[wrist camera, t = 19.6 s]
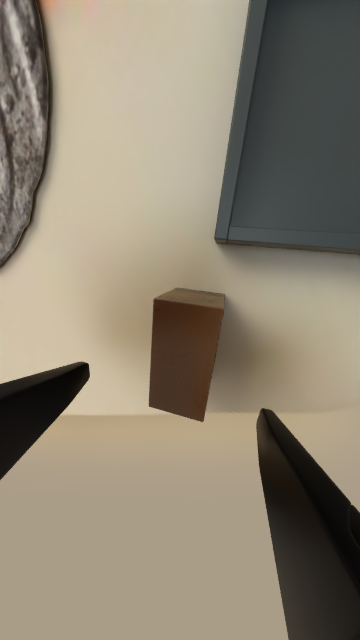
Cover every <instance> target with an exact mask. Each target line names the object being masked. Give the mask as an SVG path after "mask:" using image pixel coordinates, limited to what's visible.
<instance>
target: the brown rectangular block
mask: <svg viewBox="0 0 360 640" xmlns="http://www.w3.org/2000/svg"><path fill="white" fill-rule="evenodd" d="M224 299H225V294H219V293H212V292H204V291H197V290H190V289H182V288H175V289H173V290H171V291H169V292H167V293H165V294H162V295H160V296H158V297H156V298H154V304H153V326H152V347H151V369H150V391H149V407H152V408H156V409H159V410H163V411H166V412H170V413H173V414H177V415H180V416H184V417H187V418H191V419H194V420H197V421H201V422H203V421H204V415H205V410H206V405H207V399H208V394H209V389H210V383H211V378H212V372H213V367H214V361H215V356H216V350H217V345H218V340H219V334H220V329H221V323H222V318H223V312H224Z"/></svg>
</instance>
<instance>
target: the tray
mask: <svg viewBox="0 0 360 640" xmlns="http://www.w3.org/2000/svg"><path fill="white" fill-rule="evenodd" d="M214 238H215V241H216V243H224V244H236V245H249V246H262V247H274V248H287V249H299V250H312V251H324V252H337V253H349V254H360V0H250V2H249V8H248V15H247V22H246V28H245V35H244V42H243V49H242V55H241V62H240V69H239V76H238V82H237V89H236V96H235V103H234V109H233V116H232V123H231V130H230V136H229V143H228V150H227V157H226V163H225V170H224V177H223V184H222V190H221V197H220V204H219V210H218V217H217V224H216V231H215V237H214Z"/></svg>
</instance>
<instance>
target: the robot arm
mask: <svg viewBox="0 0 360 640" xmlns="http://www.w3.org/2000/svg"><path fill="white" fill-rule="evenodd" d="M89 377H90V372H89V364H88V363H85V362H77V363H74V364H70V365H66V366H63V367H59V368H56V369H52V370H49V371H45V372H41V373H38V374H34V375H31V376H27V377H24V378H20V379H16V380H13V381H9V382H6V383H2V384H0V480H1V479H2V478H3V477H4V475H5V474H6V473H7V472H8V471H9V470H10V469H11V468H12V467H13V466H14V464H15V463H16V462H17V461H18V460H19V459H20V458H21V457H22V456H23V455H24V454H25V453H26V451H27V450H28V449H29V448H30V447H31V446H32V445H33V444H34V443H35V442H36V441H37V439H38V438H39V437H40V436H41V435H42V434H43V433H44V432H45V431H46V430H47V428H48V427H49V426H50V425H51V424H52V423H53V422H54V421H55V420H56V419H57V417H58V416H59V415H60V414H61V413H62V412H63V411H64V410H65V409H66V408H67V407H68V405H69V404H70V403H71V402H72V401H73V399H74V398H75V397H76V395H77V394H78V393H79V391H80V390H81V389H82V388H83V386H84V385H85V384H86V382H87V381H88V380H89ZM257 441H258V455H259V456H258V457H259V467H260V474H261V480H262V485H263V492H264V497H265V503H266V509H267V515H268V521H269V527H270V533H271V538H272V544H273V550H274V556H275V562H276V567H277V574H278V579H279V585H280V590H281V597H282V603H283V608H284V614H285V621H286V626H287V632H288V638H289V640H360V512H359V511H358V510H357V509H356V508H355V507H354V506H353V505H351V502H350V501H349V500H348V499H347V497H346V496H345V495H344V494H343V493H342V492H341V490H340V489H339V488H338V487H337V486H336V485H335V483H334V482H333V481H332V480H331V479H330V478H329V477H328V475H327V474H326V473H325V472H324V471H323V469H322V468H321V467H320V466H319V465H318V464H317V462H316V461H315V460H314V459H313V458H312V457H311V455H310V454H309V453H308V452H307V451H306V450H305V448H304V447H303V446H302V445H301V444H300V442H299V441H298V440H297V439H296V438H295V437H294V435H293V434H292V433H291V432H290V431H289V430H288V428H287V427H286V426H285V425H284V424H283V423H282V422H281V420H280V419H279V418H278V417H277V416H276V414H275V413H274V412H273V411H272V410H269V409H265V408H262V409H261V411H260V414H259V417H258V420H257Z"/></svg>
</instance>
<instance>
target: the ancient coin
mask: <svg viewBox="0 0 360 640" xmlns="http://www.w3.org/2000/svg"><path fill="white" fill-rule="evenodd" d="M48 109H49V79H48V71H47V64H46V56H45V48H44V40H43V32H42V25H41V20H40V15H39V11H38V6H37V2H36V0H0V266H1V265H2V264H3V263H4V261H5V260H6V259H7V258H8V256H9V255H10V254H11V253H12V252H13V251H14V249H15V248H16V246H17V244H18V242H19V240H20V237H21V235H22V233H23V230H24V228H25V227H27V226H28V224H29V221H30V215H31V210H32V203H33V193H34V191H35V189H36V186H37V184H38V182H39V180H40V177H41V174H42V171H43V164H44V157H45V150H46V143H47V119H48Z"/></svg>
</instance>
